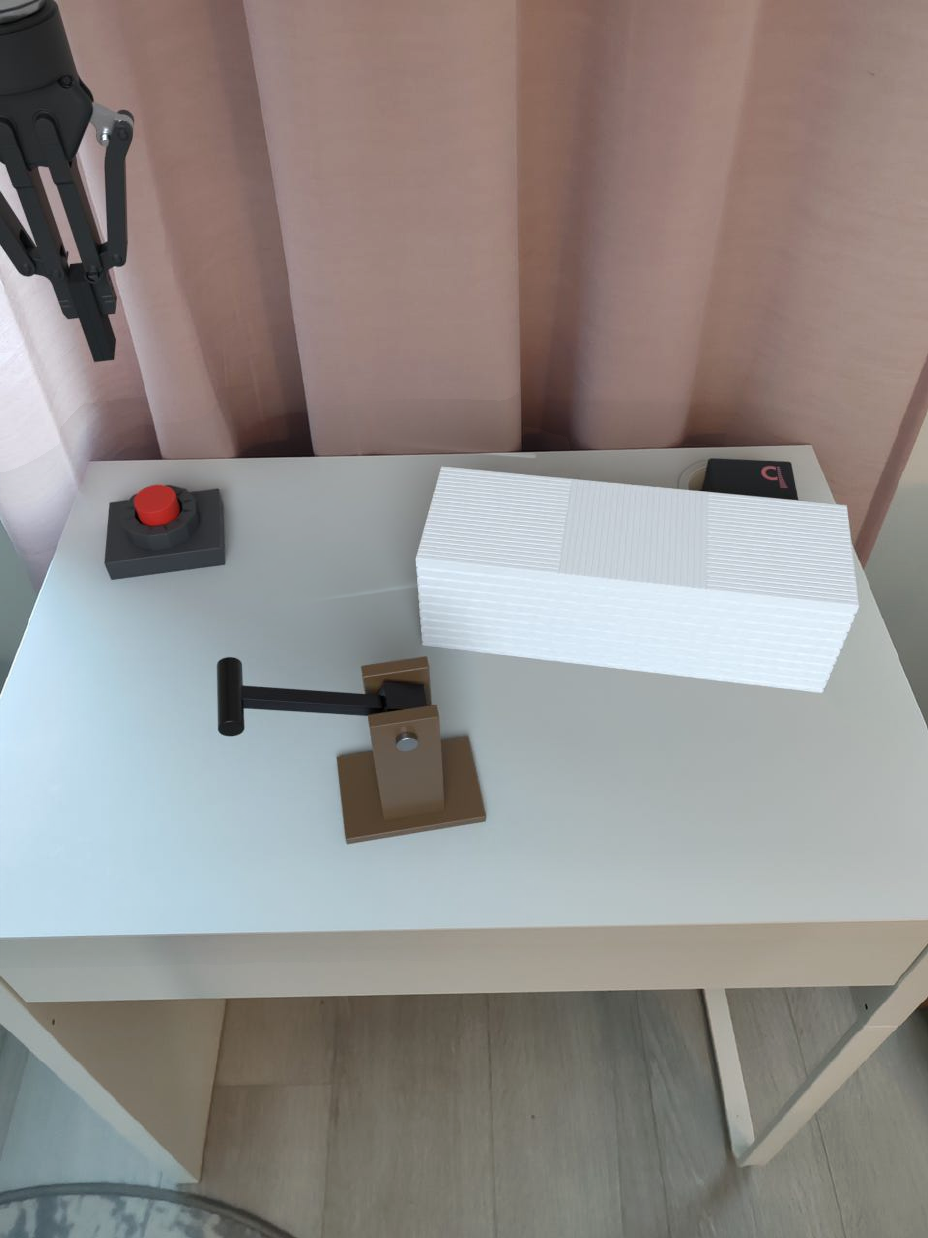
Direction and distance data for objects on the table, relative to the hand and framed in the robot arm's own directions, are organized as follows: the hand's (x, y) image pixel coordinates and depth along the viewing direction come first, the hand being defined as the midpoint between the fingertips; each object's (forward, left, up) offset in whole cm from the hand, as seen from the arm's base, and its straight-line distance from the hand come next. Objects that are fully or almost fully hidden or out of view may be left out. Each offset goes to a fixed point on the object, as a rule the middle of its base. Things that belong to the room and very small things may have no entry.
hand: (105, 350), depth 76 cm
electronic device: (+51, -10, -21) cm, 56 cm away
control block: (0, 0, -20) cm, 20 cm away
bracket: (+18, -30, -20) cm, 41 cm away
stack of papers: (+38, -17, -21) cm, 46 cm away
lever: (+13, -31, -9) cm, 34 cm away
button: (0, 0, -17) cm, 17 cm away
